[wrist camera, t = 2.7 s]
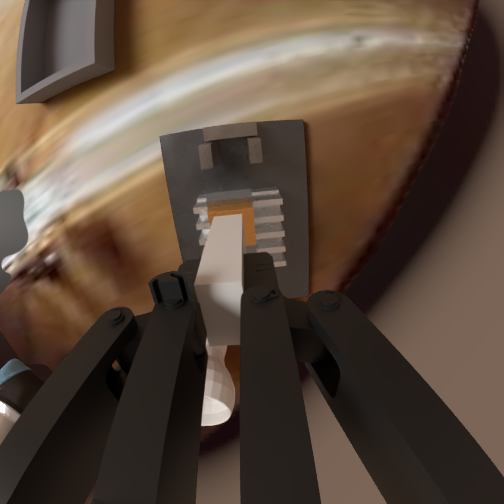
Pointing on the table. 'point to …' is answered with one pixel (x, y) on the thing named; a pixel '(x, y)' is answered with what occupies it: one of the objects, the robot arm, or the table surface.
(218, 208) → the strap
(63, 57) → the tray
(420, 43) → the table surface
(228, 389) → the cup
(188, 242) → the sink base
